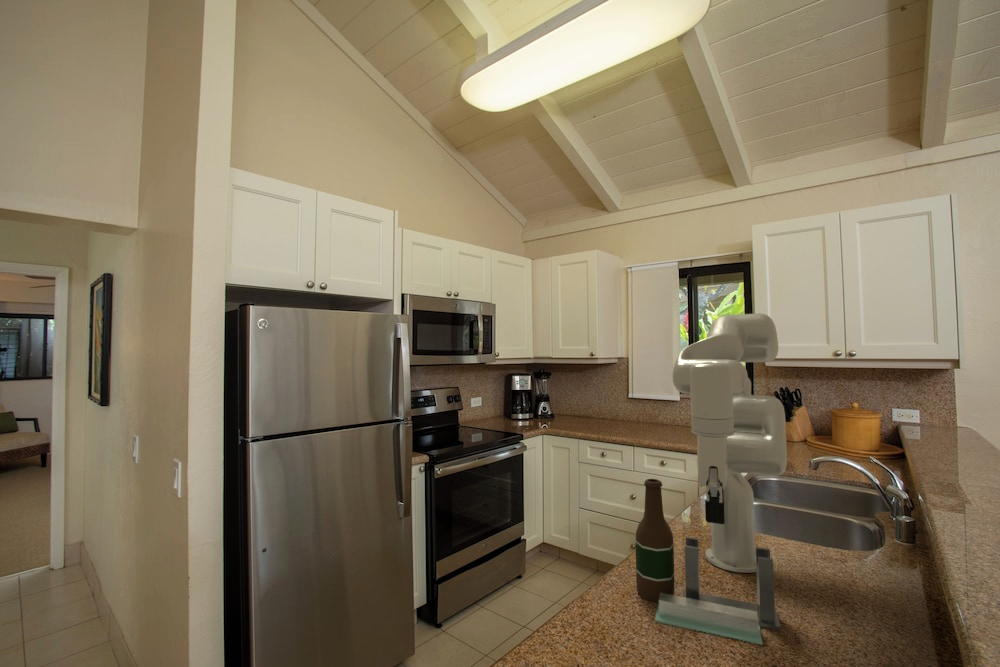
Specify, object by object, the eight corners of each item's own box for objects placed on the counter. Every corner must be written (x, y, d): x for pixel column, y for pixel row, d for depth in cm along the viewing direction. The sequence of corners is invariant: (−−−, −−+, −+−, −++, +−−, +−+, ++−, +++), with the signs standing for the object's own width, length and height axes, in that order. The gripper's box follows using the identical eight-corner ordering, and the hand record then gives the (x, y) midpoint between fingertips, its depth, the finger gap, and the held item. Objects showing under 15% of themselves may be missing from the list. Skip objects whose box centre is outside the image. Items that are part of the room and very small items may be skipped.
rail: (660, 607, 92) (660, 592, 92) (757, 628, 85) (756, 611, 85) (659, 615, 89) (658, 599, 89) (759, 637, 82) (758, 620, 82)
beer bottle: (677, 605, 93) (675, 486, 94) (638, 601, 95) (636, 484, 96) (671, 586, 101) (669, 476, 102) (634, 583, 103) (632, 474, 104)
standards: (683, 593, 98) (682, 534, 98) (775, 611, 91) (773, 548, 91) (681, 610, 92) (680, 547, 92) (780, 631, 85) (778, 562, 85)
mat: (658, 605, 93) (658, 603, 93) (759, 626, 86) (759, 624, 86) (655, 621, 88) (655, 619, 88) (762, 645, 81) (762, 643, 81)
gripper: (693, 417, 99) (696, 496, 99) (689, 433, 84) (692, 527, 83) (732, 418, 96) (735, 500, 96) (735, 436, 80) (738, 534, 80)
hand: (715, 513), depth 90 cm, fingers open, 9 cm apart
